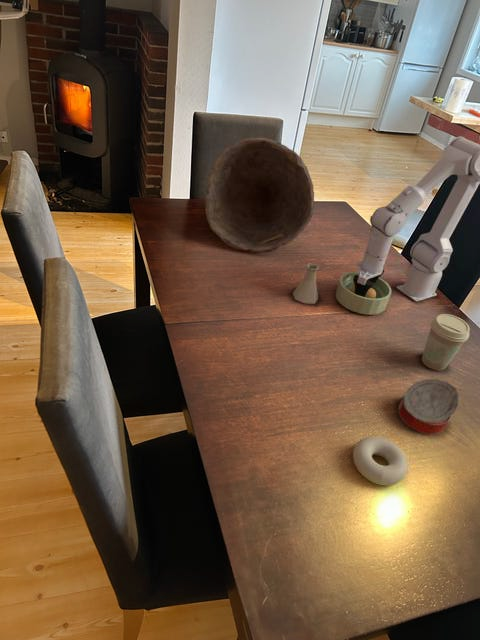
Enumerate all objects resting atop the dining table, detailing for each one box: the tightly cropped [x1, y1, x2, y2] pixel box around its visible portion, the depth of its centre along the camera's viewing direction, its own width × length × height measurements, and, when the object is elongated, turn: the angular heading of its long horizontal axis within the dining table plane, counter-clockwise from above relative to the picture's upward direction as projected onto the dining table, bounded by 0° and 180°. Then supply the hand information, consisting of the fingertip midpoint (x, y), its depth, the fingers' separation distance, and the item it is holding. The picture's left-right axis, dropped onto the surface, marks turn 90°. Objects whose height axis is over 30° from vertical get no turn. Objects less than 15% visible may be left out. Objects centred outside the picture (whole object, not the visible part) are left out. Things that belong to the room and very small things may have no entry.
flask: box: [292, 262, 320, 305], centre depth 128 cm, size 7×7×10 cm
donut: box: [352, 435, 409, 486], centre depth 86 cm, size 10×3×10 cm
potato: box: [350, 285, 376, 299], centre depth 131 cm, size 7×4×4 cm, turn 58°
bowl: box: [204, 137, 315, 253], centre depth 156 cm, size 34×35×30 cm
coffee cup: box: [421, 313, 471, 372], centre depth 111 cm, size 8×8×12 cm
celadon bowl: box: [335, 271, 393, 316], centre depth 131 cm, size 14×14×6 cm
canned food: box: [397, 378, 459, 435], centre depth 97 cm, size 11×10×10 cm
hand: (362, 295), depth 132 cm, fingers open, 6 cm apart
